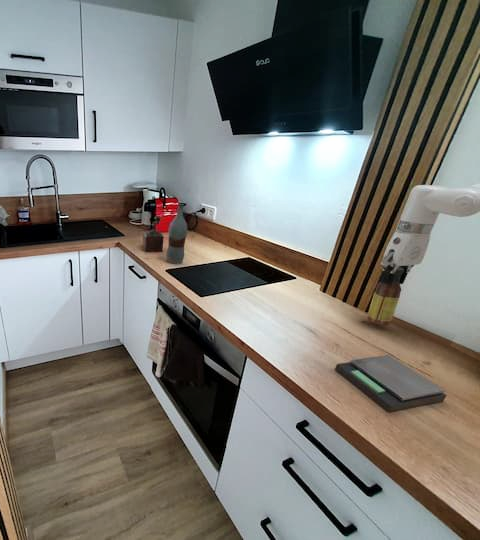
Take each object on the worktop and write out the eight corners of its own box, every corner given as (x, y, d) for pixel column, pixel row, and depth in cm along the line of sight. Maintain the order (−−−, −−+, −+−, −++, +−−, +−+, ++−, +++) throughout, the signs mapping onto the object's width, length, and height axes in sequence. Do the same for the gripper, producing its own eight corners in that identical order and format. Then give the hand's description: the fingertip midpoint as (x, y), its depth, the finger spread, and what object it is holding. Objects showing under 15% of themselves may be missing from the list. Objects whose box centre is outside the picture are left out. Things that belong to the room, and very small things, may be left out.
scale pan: (386, 356, 80) (388, 354, 80) (443, 392, 68) (445, 390, 68) (349, 362, 77) (350, 360, 77) (401, 401, 66) (403, 398, 65)
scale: (383, 362, 81) (386, 354, 80) (443, 401, 69) (448, 393, 68) (334, 369, 78) (337, 362, 77) (388, 412, 65) (392, 404, 64)
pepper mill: (163, 252, 163) (166, 221, 156) (144, 252, 162) (146, 221, 155) (158, 243, 177) (160, 215, 170) (140, 243, 176) (142, 214, 169)
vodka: (162, 260, 150) (167, 203, 139) (172, 256, 156) (178, 201, 144) (176, 266, 144) (183, 206, 132) (186, 261, 150) (194, 204, 138)
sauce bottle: (392, 322, 97) (414, 268, 90) (386, 328, 94) (408, 273, 87) (368, 314, 102) (387, 262, 95) (362, 319, 99) (381, 267, 92)
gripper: (406, 232, 81) (382, 290, 88) (450, 230, 84) (424, 285, 91) (379, 225, 87) (359, 280, 94) (420, 224, 91) (398, 276, 98)
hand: (391, 282), depth 93 cm, fingers closed on sauce bottle, 4 cm apart
